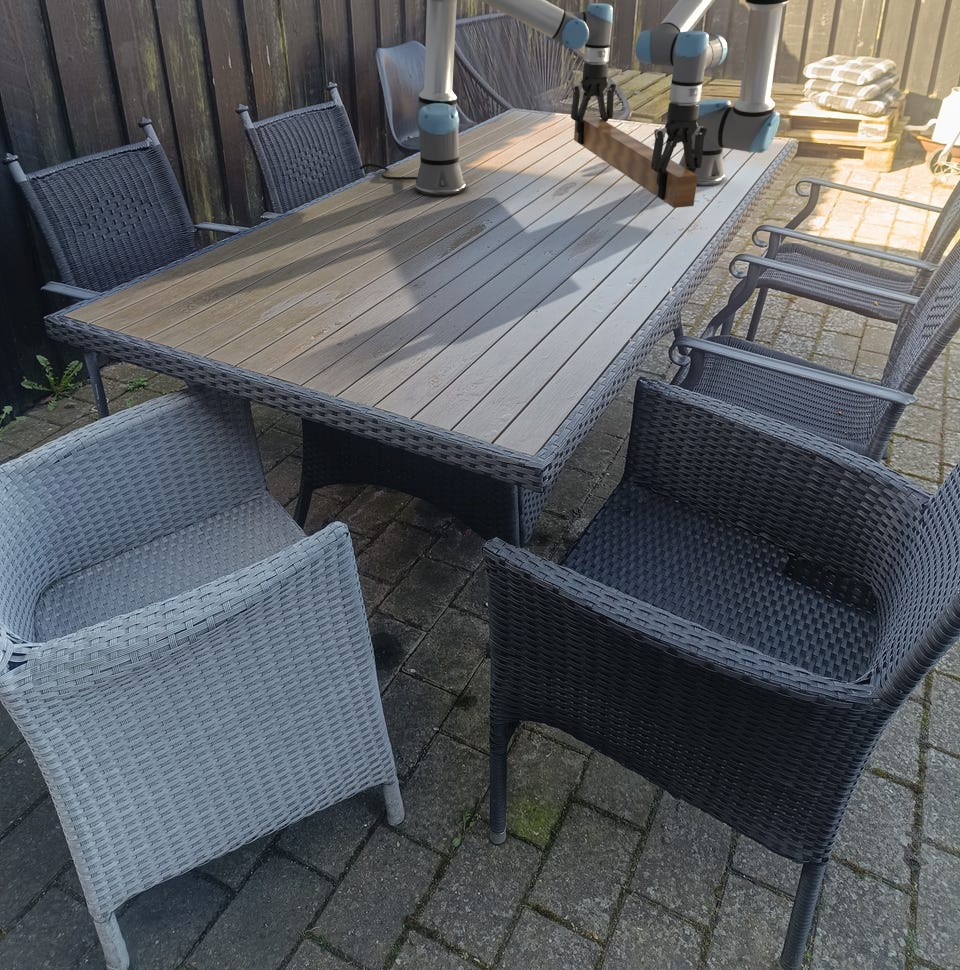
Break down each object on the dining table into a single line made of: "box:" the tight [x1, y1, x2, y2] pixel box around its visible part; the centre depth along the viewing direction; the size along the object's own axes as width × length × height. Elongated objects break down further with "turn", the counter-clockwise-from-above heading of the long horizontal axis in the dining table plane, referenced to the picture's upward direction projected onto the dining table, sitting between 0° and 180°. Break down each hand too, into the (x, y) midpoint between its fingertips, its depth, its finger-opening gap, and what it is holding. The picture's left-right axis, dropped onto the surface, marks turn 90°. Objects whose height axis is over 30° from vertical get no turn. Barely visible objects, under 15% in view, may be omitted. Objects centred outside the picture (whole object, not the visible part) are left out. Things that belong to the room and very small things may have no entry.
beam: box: [573, 113, 698, 209], centre depth 243 cm, size 73×6×8 cm, turn 15°
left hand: (589, 142), depth 268 cm, fingers closed on beam, 6 cm apart
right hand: (672, 196), depth 221 cm, fingers closed on beam, 6 cm apart
